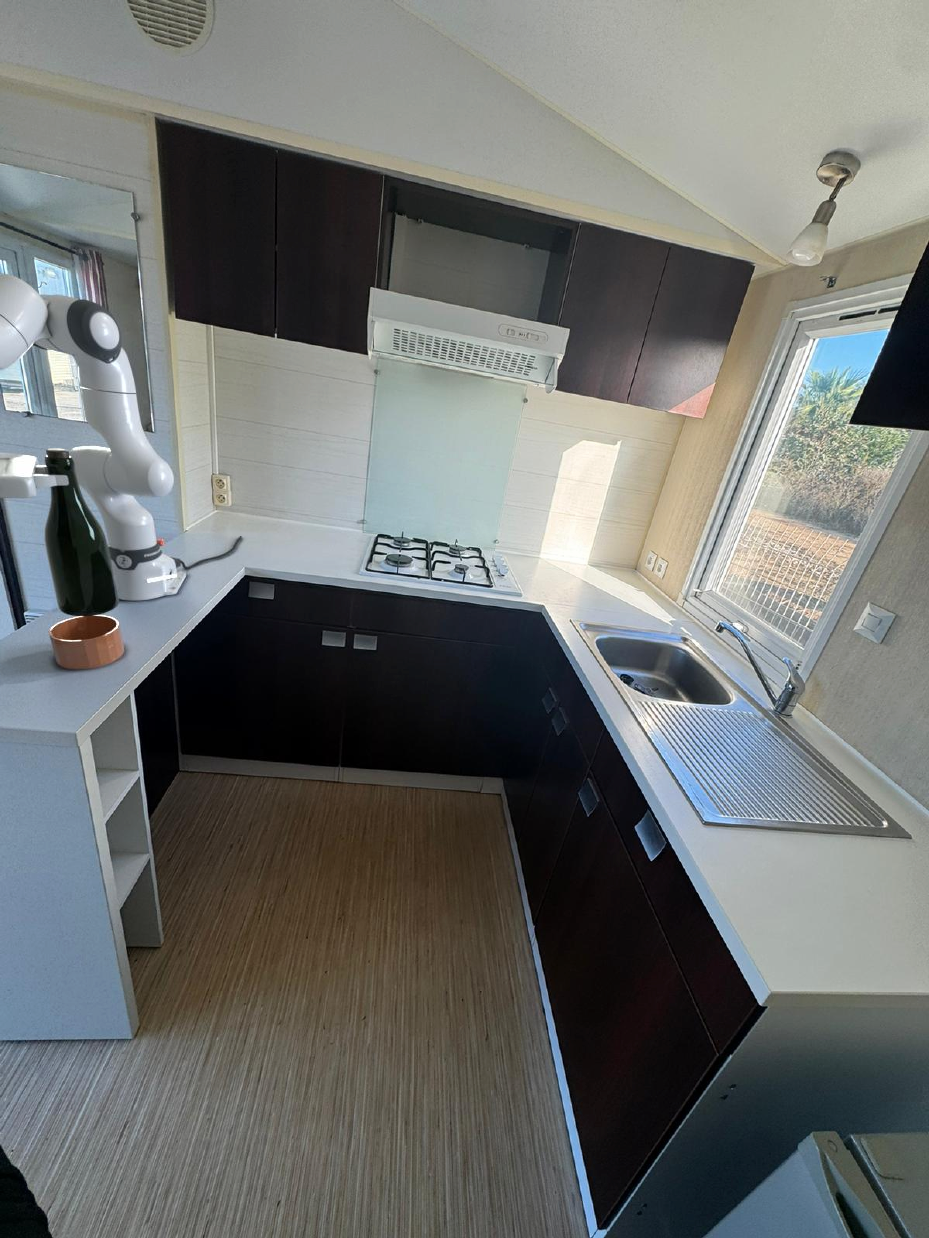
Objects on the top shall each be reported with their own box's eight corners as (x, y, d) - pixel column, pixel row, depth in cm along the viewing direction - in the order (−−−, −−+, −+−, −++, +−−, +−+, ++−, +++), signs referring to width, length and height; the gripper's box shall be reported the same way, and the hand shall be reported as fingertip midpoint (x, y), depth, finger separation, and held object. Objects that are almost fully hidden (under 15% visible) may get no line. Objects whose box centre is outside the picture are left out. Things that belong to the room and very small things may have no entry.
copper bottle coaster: (78, 639, 113) (72, 613, 110) (134, 643, 115) (129, 617, 112) (42, 667, 103) (34, 638, 100) (105, 671, 104) (98, 643, 101)
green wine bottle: (46, 610, 101) (4, 446, 87) (93, 593, 110) (62, 442, 96) (87, 622, 99) (50, 456, 85) (131, 604, 109) (105, 452, 94)
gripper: (-48, 468, 77) (64, 471, 85) (-29, 446, 91) (65, 450, 99) (-35, 508, 80) (71, 506, 87) (-19, 480, 94) (71, 481, 102)
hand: (68, 476), depth 93 cm, fingers closed on green wine bottle, 4 cm apart
